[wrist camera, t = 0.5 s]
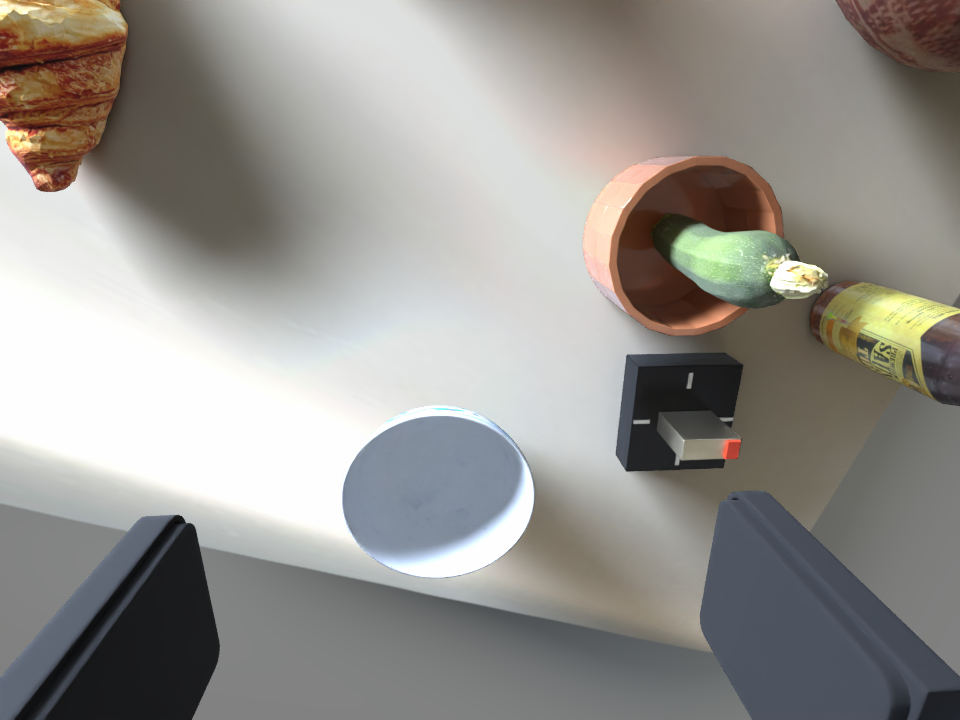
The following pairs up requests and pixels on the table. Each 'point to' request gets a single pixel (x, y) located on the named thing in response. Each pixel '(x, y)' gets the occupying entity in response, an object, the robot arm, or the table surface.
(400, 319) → the table surface
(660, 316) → the terracotta pot
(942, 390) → the sauce bottle
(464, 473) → the chinaware
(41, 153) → the croissant
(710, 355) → the panel
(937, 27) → the jug
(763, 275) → the vegetable
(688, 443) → the hob knob
